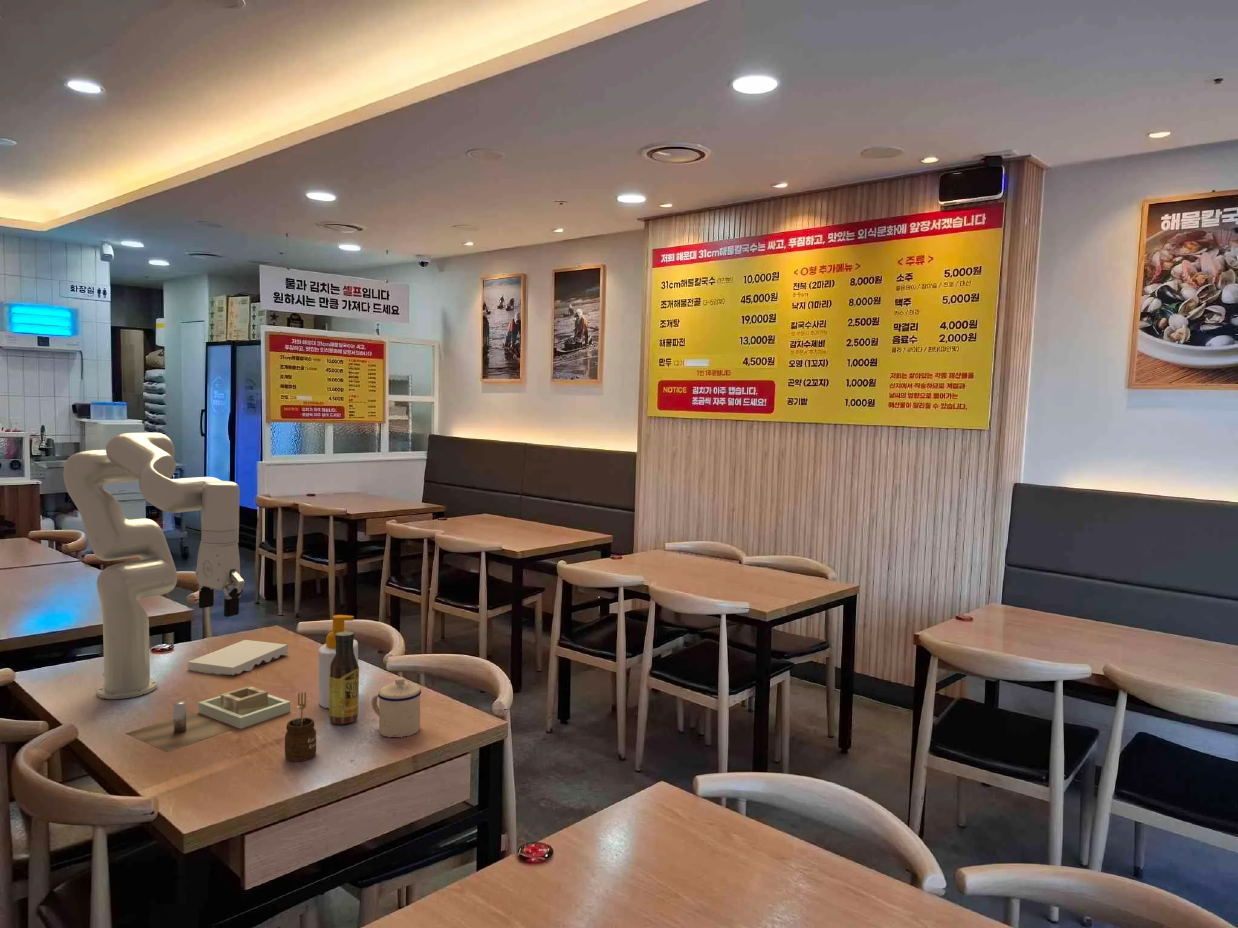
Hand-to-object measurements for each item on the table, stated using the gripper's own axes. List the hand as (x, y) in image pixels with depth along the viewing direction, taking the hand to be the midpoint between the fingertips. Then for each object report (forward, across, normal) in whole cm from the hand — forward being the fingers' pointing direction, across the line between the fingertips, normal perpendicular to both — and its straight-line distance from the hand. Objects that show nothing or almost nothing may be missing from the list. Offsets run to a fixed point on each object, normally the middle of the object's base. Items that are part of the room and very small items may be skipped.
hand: (218, 611), depth 181 cm
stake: (+22, +7, -12) cm, 26 cm away
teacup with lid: (+22, +40, +17) cm, 48 cm away
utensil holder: (+22, +35, -3) cm, 41 cm away
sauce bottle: (+23, +27, +14) cm, 38 cm away
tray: (+24, +8, +2) cm, 25 cm away
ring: (+23, +8, +2) cm, 24 cm away
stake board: (+24, +7, -12) cm, 27 cm away
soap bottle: (+23, +15, +22) cm, 35 cm away
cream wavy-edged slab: (+26, -30, +25) cm, 46 cm away
